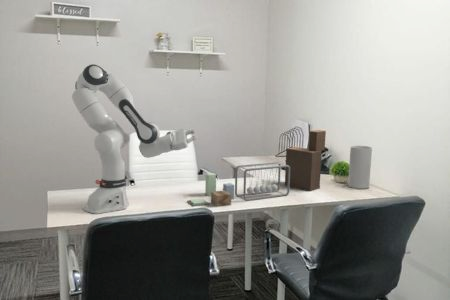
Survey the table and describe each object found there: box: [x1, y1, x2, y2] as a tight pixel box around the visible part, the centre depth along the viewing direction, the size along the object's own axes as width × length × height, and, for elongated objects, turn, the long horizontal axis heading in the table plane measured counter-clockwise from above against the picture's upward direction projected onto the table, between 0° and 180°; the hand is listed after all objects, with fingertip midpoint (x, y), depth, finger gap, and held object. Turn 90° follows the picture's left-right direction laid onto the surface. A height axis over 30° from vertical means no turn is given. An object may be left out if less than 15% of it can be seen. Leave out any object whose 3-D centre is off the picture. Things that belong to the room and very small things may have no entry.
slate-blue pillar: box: [222, 182, 235, 201], centre depth 228 cm, size 4×4×8 cm
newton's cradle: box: [234, 161, 290, 202], centre depth 234 cm, size 30×10×18 cm, turn 118°
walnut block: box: [210, 190, 232, 208], centre depth 219 cm, size 8×8×6 cm
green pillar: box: [205, 172, 217, 197], centre depth 235 cm, size 4×4×12 cm
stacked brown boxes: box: [284, 129, 327, 192], centre depth 256 cm, size 19×14×35 cm
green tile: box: [186, 198, 210, 207], centre depth 219 cm, size 9×9×1 cm
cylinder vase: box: [347, 145, 373, 190], centre depth 258 cm, size 12×12×25 cm
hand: (194, 134), depth 222 cm, fingers open, 8 cm apart
